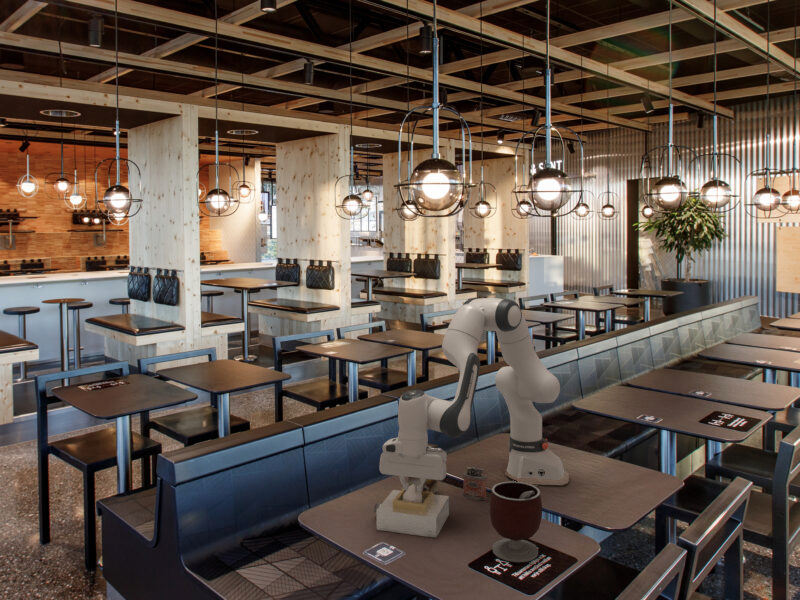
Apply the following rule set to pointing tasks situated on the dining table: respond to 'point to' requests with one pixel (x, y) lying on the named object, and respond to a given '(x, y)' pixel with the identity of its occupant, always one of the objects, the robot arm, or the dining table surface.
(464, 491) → the lighter
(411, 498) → the roll
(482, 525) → the dining table surface
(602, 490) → the dining table surface
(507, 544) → the mate gourd
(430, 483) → the coffee box
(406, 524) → the white box
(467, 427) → the robot arm
